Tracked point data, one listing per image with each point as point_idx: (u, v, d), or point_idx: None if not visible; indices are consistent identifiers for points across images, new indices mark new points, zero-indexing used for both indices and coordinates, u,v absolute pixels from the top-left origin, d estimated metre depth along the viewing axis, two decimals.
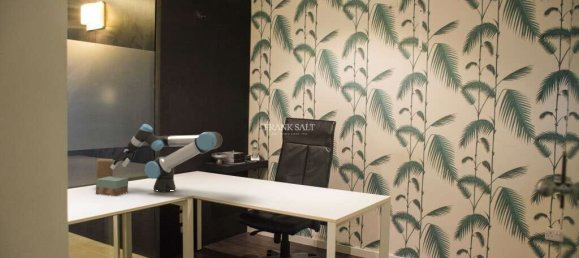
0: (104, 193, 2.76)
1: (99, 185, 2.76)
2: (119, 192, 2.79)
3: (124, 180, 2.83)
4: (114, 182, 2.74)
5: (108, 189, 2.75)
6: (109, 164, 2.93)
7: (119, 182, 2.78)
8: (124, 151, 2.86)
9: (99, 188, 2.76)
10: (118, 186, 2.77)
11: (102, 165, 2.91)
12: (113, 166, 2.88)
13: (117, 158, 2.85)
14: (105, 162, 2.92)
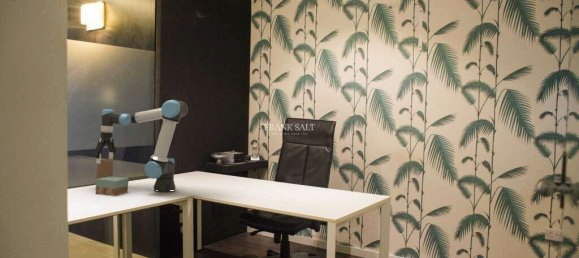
0: (104, 193, 2.76)
1: (99, 185, 2.77)
2: (119, 192, 2.79)
3: (124, 180, 2.83)
4: (113, 182, 2.74)
5: (108, 189, 2.75)
6: (109, 164, 2.93)
7: (119, 182, 2.78)
8: (99, 141, 2.89)
9: (99, 188, 2.76)
10: (117, 186, 2.77)
11: (101, 166, 2.91)
12: (98, 160, 2.89)
13: (97, 150, 2.87)
14: (105, 162, 2.92)
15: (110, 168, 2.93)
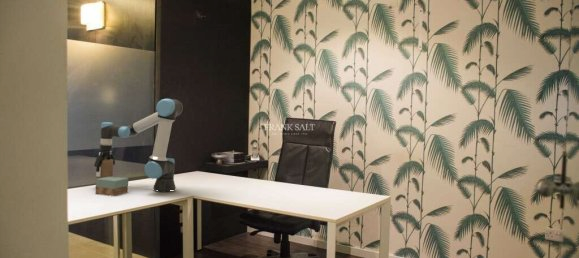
0: (104, 193, 2.76)
1: (99, 185, 2.77)
2: (119, 192, 2.79)
3: (124, 180, 2.83)
4: (113, 182, 2.74)
5: (108, 189, 2.75)
6: (108, 164, 2.93)
7: (118, 182, 2.77)
8: (99, 154, 2.89)
9: (99, 188, 2.76)
10: (117, 186, 2.76)
11: (101, 165, 2.91)
12: (98, 173, 2.89)
13: (96, 163, 2.87)
14: (105, 162, 2.92)
15: (110, 168, 2.93)
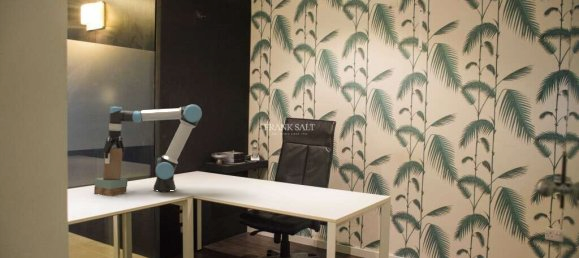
0: (102, 193, 2.75)
1: (97, 185, 2.77)
2: (117, 192, 2.78)
3: (122, 181, 2.81)
4: (110, 182, 2.73)
5: (107, 189, 2.74)
6: (117, 153, 2.78)
7: (115, 182, 2.76)
8: (108, 140, 2.74)
9: (97, 188, 2.76)
10: (114, 186, 2.75)
11: None
12: (107, 160, 2.74)
13: (105, 149, 2.72)
14: (113, 151, 2.77)
15: (118, 157, 2.78)
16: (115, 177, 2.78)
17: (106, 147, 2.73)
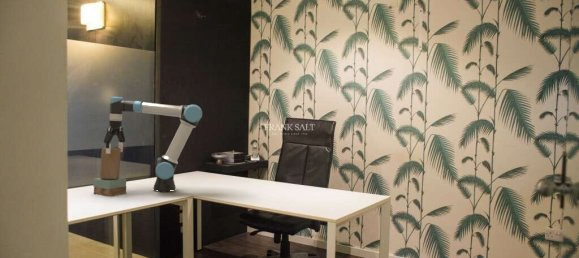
0: (102, 193, 2.74)
1: (95, 185, 2.76)
2: (117, 192, 2.77)
3: (121, 181, 2.80)
4: (108, 182, 2.72)
5: (106, 189, 2.74)
6: (113, 152, 2.76)
7: (114, 183, 2.75)
8: (109, 130, 2.74)
9: (97, 188, 2.75)
10: (112, 187, 2.74)
11: (106, 154, 2.76)
12: (108, 150, 2.74)
13: (106, 139, 2.72)
14: (110, 150, 2.76)
15: (115, 156, 2.77)
16: (112, 177, 2.76)
17: (107, 137, 2.72)
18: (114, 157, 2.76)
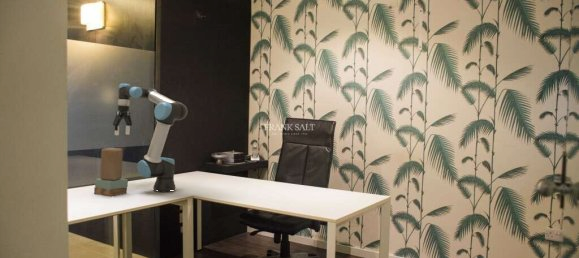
0: (102, 193, 2.74)
1: (97, 185, 2.77)
2: (117, 193, 2.77)
3: (122, 181, 2.80)
4: (108, 183, 2.72)
5: (106, 190, 2.73)
6: (112, 154, 2.74)
7: (114, 183, 2.75)
8: (117, 114, 3.01)
9: (97, 189, 2.75)
10: (113, 187, 2.74)
11: (105, 155, 2.74)
12: (117, 132, 3.02)
13: (115, 122, 2.99)
14: (108, 151, 2.74)
15: (113, 158, 2.74)
16: (111, 178, 2.75)
17: (116, 120, 3.00)
18: (113, 158, 2.74)
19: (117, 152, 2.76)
